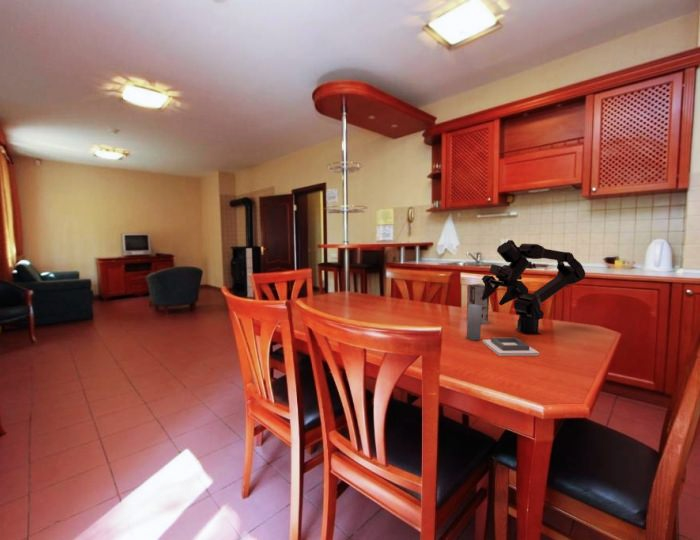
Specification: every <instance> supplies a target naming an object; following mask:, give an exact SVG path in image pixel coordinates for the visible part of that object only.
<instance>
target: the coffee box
mask: <svg viewBox="0 0 700 540" xmlns="http://www.w3.org/2000/svg"><path fill="white" fill-rule="evenodd" d="M484 288H485V284H478V283H475V284H473V283H472V284H468V287H467V306H468V305H469V304H476V305H481V306H482V314H481V325H487V324H488V323H489V308H490V307H489V306H490V304H489V303H490V296H489V297H488V298H487V299H485V300H482V296H483V292H484ZM466 313H467V314H466V317H467V316H468V308H467V311H466Z"/></svg>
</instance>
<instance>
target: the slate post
mask: <svg viewBox="0 0 700 540" xmlns="http://www.w3.org/2000/svg"><path fill="white" fill-rule="evenodd" d="M467 309H468V316H467V315H466V319H467V320H466V321H467V322H466V339H467V340H470V341H474V340H475V342H476V340H477V341H481V332H482V324H481V314H482V306H481V305H476V304H469V305H468V304H467Z"/></svg>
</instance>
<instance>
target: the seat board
mask: <svg viewBox="0 0 700 540" xmlns="http://www.w3.org/2000/svg"><path fill="white" fill-rule="evenodd" d="M481 341H482V344H483V345H485V346H487V348H489V349H490V350H491V351H492V352H493V353H495V354H496V355H497V356H499V357H507V356H508V357H526V356H527V357H528V356H529V357H531V356H532V357H536V356H537V357H538V356H540V352H539V351H537V350H536V349H534V348H533V347H531V346H530V345H529V344H527V343H525V342H524V341H522V340H521V339H520V338H518V337H508V336H507V337H502V336H501V337H490V339H482V340H481Z"/></svg>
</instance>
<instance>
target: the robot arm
mask: <svg viewBox="0 0 700 540" xmlns="http://www.w3.org/2000/svg"><path fill="white" fill-rule="evenodd" d="M496 252H497V253H498V254H499V256H500V257H501V258H502V259H503V260H504V261H505V262H506V263H508V264H504V265H498V264H497V265H496V264H491V266H490V268H489V271H488V274H486V275H485V274H484V275H483V276H482V278H481V281H482V282H483V285H485V288H484V292H483V296H482V300H485V299H487V298H488V297H489V298H490V296H492V295H493V294H494V293H496V291H497V289H498V288H499V287H502V288H506V291H505V293H504V294H503V296H502V297H501V299H500V300H499V302H498V305H499V306H503V305H505V304H507V303H509V302H511V301H513V300H514V302H513V309H514V311H515V315H517V316H518V319H517V326H516V328H515V330H517V331H519V332H520V333H522V334H525V335H539V334H541V332H540V331H539V323H540V320H542V319H543V317H544V315H545V313H544V312H543V310H542V309H541V308H542V305H543V303H544V302H545V301H547V300H548V299H549V298H551V297H552V296H554V295H555V294H556V293H558V292H559V291H560V290H562V289H563V288H565V287H566V286H568V285H574V284H577V283H579V282H581V281H583V280H584V278H585V276H586V270H585V268H584V267H583V265H582V263H581V262H579V260H577V259H576V257H575V256H574V255H573V253H571V252H569V251H560V250H556V249H555V250H554V249H547V248H545V247H544V246H543V245H540V244H538V243H521V244H520V245H519V246H517V245H516V242H515V241H514V240H512V239H508V240H506V242H504V243H503V242H502V243H501V244H500V245H499V246H498V247H497V248H496ZM528 259H530V260H538V259H539V260H541V259H545V260H552V261H556V262H557V265H556V269H557V270H558V271H557V273H556V276H555V277H554V278H552V279H550V280H549V281H548V282H546V283H545V284H544V285H542V286H541V287H539V288H538V289H536V290H535V291H534V292H532V293H531V292H529V288H528V287H527V286H526V284H525V283H524V282H523V281H522V279H523V277H522V275H523V274H524V272H525V271H526V269H528V270H529V269H530V270H532V269H533V265H532V263H533V262H532V261H529V260H528ZM565 263H567V264H568V265H565ZM489 274H493V275H495V276H493V275H489ZM497 279H498V280H497Z"/></svg>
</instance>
